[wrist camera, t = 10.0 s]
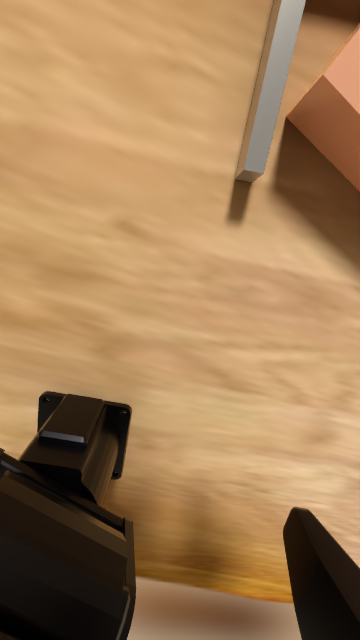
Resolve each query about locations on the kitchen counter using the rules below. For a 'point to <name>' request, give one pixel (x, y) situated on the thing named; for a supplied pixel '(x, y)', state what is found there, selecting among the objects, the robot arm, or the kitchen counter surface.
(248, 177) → the grey u-shaped bracket
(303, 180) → the kitchen counter surface
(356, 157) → the salmon pink block
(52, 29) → the kitchen counter surface
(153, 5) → the kitchen counter surface
